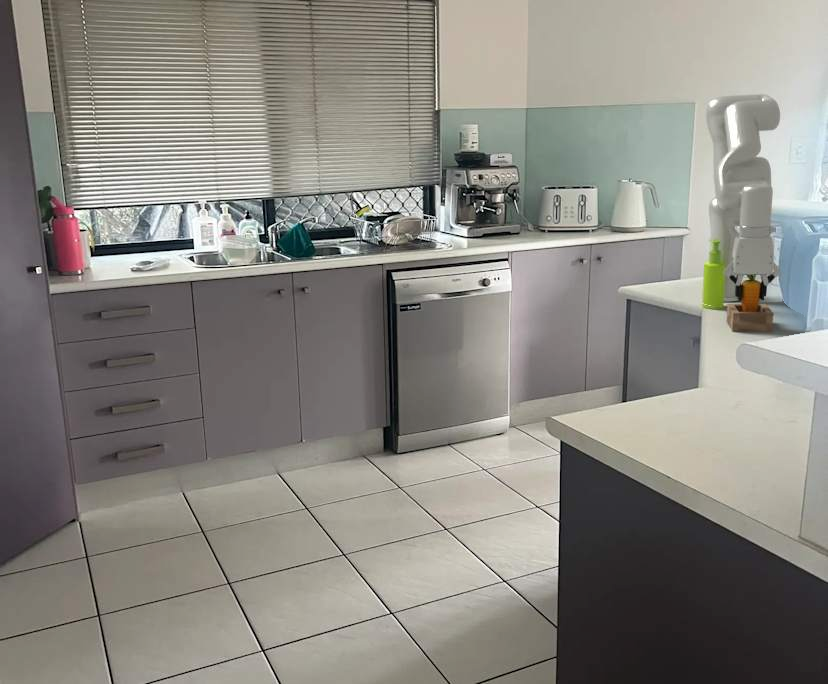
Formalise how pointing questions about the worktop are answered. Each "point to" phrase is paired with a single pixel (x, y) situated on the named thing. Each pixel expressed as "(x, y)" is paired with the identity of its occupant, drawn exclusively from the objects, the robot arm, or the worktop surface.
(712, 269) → the soap dispenser
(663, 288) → the worktop surface
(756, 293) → the carrot
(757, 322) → the holder
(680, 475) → the worktop surface
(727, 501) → the worktop surface
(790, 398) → the worktop surface
